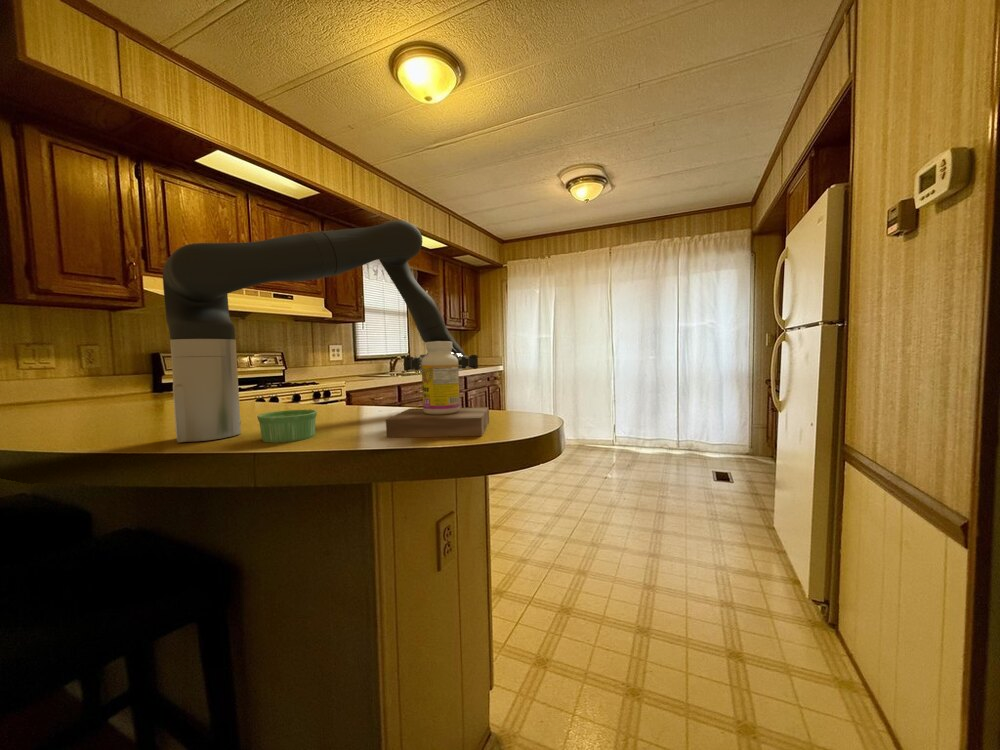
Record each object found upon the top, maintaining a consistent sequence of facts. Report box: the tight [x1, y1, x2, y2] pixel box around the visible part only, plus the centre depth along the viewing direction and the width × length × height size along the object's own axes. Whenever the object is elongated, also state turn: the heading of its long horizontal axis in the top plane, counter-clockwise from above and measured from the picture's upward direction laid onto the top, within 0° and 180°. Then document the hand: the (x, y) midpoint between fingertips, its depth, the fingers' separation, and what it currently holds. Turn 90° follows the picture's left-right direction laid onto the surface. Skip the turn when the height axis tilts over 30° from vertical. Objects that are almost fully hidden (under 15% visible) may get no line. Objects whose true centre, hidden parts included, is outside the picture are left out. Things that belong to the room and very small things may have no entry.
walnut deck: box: [385, 406, 490, 438], centre depth 71 cm, size 13×16×3 cm
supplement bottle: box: [421, 341, 461, 415], centre depth 71 cm, size 7×7×13 cm
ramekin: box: [257, 409, 318, 444], centre depth 67 cm, size 9×9×4 cm
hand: (440, 363), depth 71 cm, fingers open, 8 cm apart
